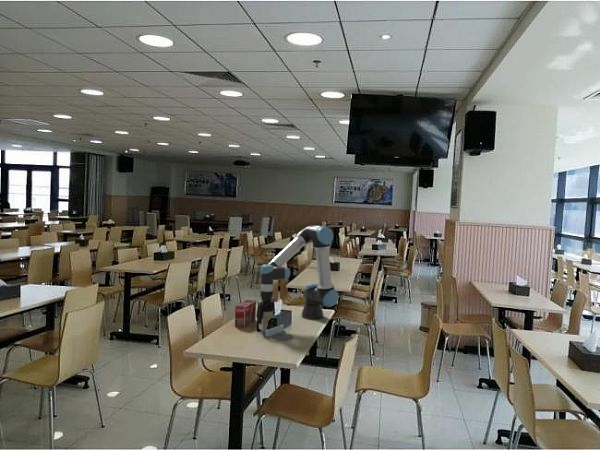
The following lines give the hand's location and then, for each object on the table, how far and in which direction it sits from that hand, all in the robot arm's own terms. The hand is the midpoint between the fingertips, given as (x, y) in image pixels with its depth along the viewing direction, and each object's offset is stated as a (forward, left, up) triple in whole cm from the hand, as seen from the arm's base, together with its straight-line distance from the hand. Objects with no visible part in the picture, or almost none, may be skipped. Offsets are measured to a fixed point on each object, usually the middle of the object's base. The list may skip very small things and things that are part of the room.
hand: (265, 327), depth 286 cm
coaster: (+3, +16, -2) cm, 16 cm away
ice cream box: (-5, -21, -3) cm, 22 cm away
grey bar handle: (+1, +8, -2) cm, 8 cm away
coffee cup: (0, 0, -2) cm, 2 cm away
